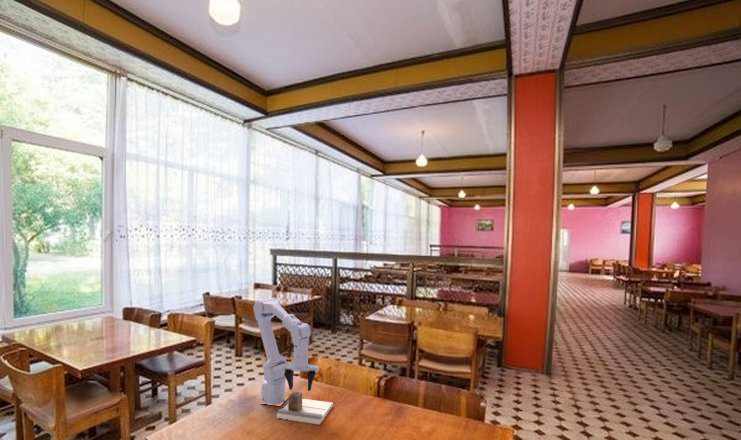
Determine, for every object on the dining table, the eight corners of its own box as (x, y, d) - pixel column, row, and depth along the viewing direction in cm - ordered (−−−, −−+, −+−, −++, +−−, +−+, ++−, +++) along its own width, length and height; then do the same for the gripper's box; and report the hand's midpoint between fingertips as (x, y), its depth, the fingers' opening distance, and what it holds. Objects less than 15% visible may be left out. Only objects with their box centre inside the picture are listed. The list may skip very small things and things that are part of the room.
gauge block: (288, 411, 132) (288, 396, 132) (293, 406, 136) (293, 391, 136) (297, 413, 131) (297, 397, 131) (302, 408, 135) (302, 392, 135)
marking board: (276, 418, 130) (276, 411, 130) (293, 401, 143) (293, 395, 143) (319, 424, 125) (319, 417, 125) (332, 406, 139) (332, 400, 139)
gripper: (279, 357, 132) (279, 392, 131) (315, 359, 130) (314, 395, 129) (286, 351, 139) (285, 384, 138) (320, 353, 137) (319, 386, 136)
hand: (300, 389), depth 134 cm, fingers open, 7 cm apart
